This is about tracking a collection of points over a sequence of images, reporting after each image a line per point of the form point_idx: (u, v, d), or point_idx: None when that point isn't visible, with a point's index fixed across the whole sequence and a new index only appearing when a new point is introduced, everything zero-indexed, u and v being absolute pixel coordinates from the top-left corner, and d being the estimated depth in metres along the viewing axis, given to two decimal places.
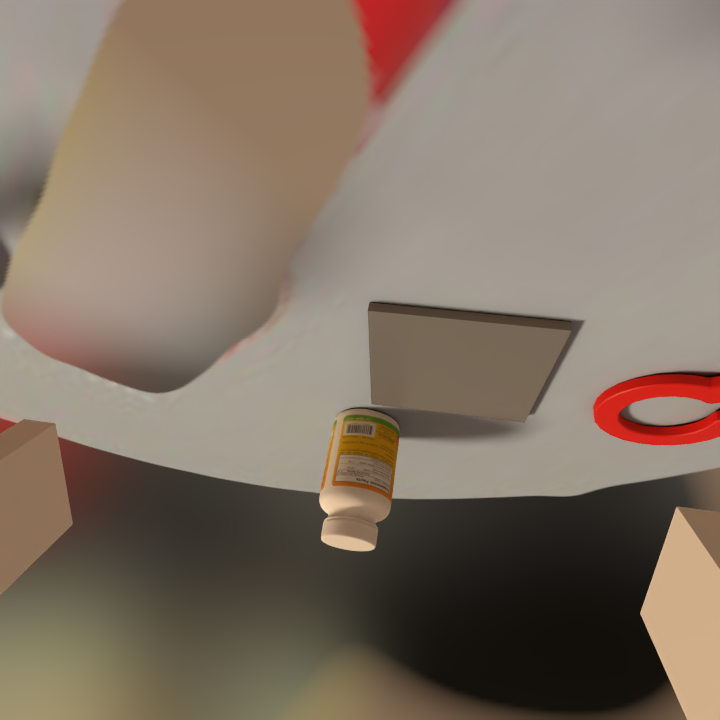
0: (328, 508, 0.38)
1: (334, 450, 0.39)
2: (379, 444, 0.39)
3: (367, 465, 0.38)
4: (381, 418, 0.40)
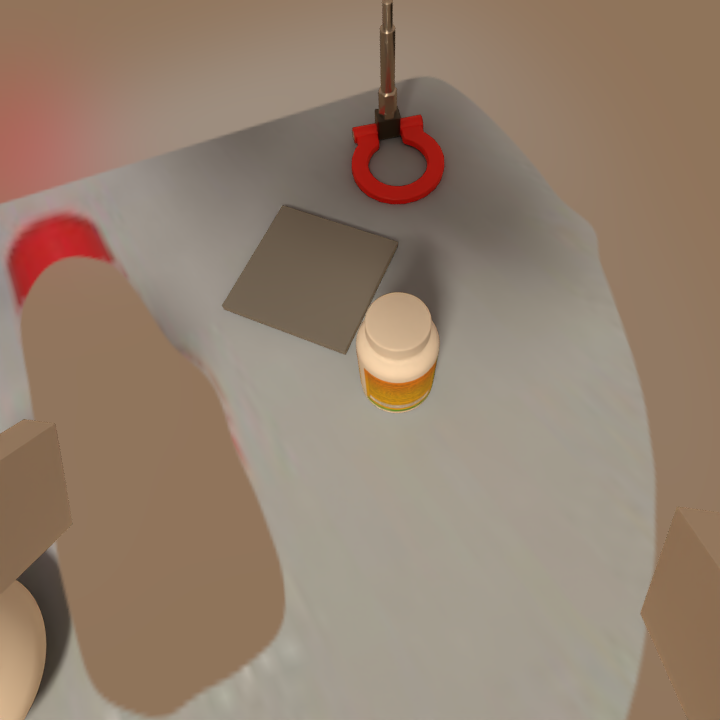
0: (376, 355, 0.32)
1: (361, 376, 0.36)
2: None
3: None
4: None
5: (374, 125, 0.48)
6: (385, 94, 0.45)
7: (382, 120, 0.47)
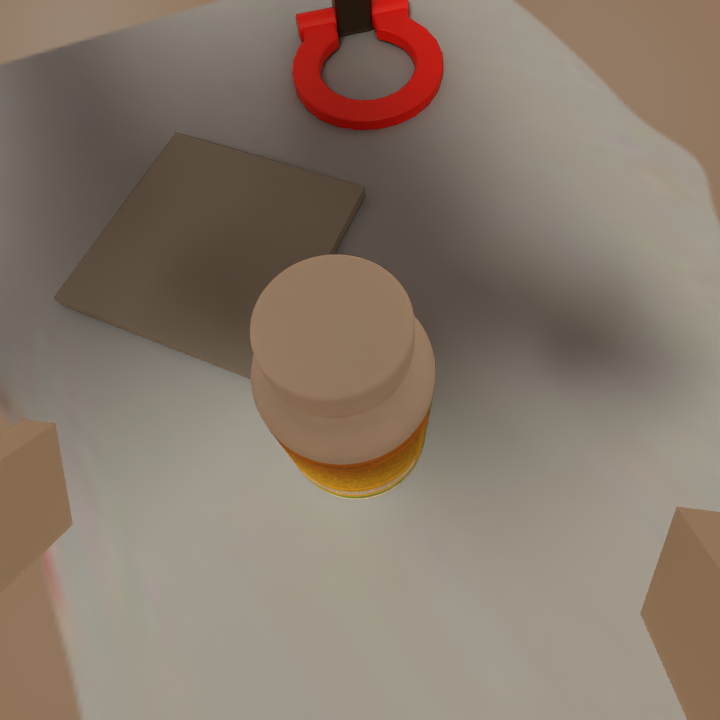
0: (287, 404, 0.14)
1: None
2: None
3: None
4: None
5: (330, 9, 0.30)
6: None
7: None
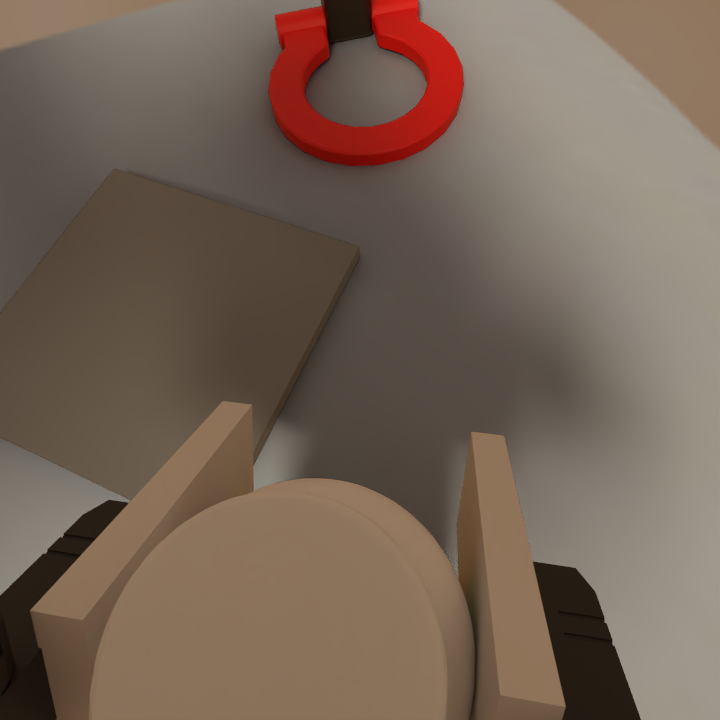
0: None
1: None
2: None
3: None
4: None
5: (318, 9, 0.24)
6: None
7: None
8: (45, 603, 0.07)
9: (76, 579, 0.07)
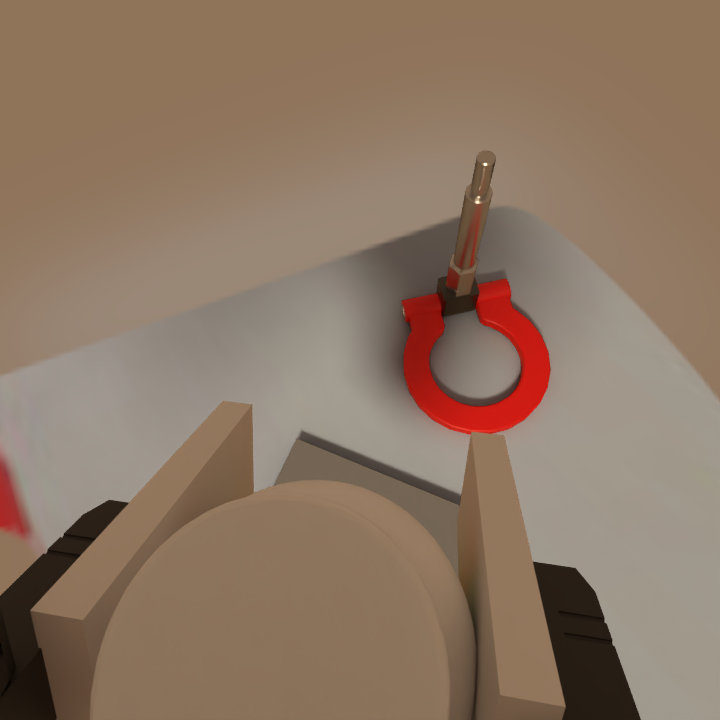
0: None
1: None
2: None
3: None
4: None
5: (436, 298, 0.31)
6: (461, 270, 0.28)
7: (451, 297, 0.30)
8: (45, 603, 0.07)
9: (76, 579, 0.07)
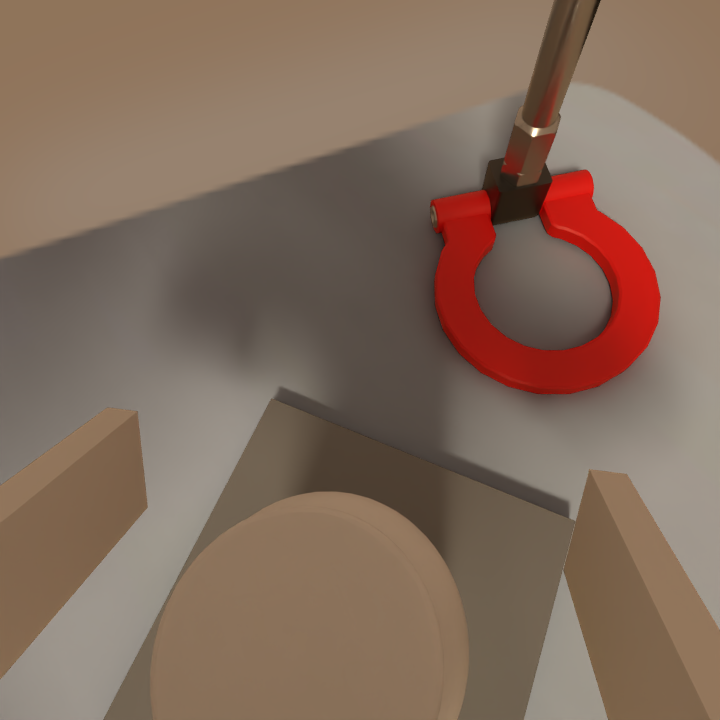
0: None
1: None
2: None
3: None
4: None
5: (483, 195, 0.21)
6: (534, 130, 0.17)
7: (509, 188, 0.20)
8: None
9: None
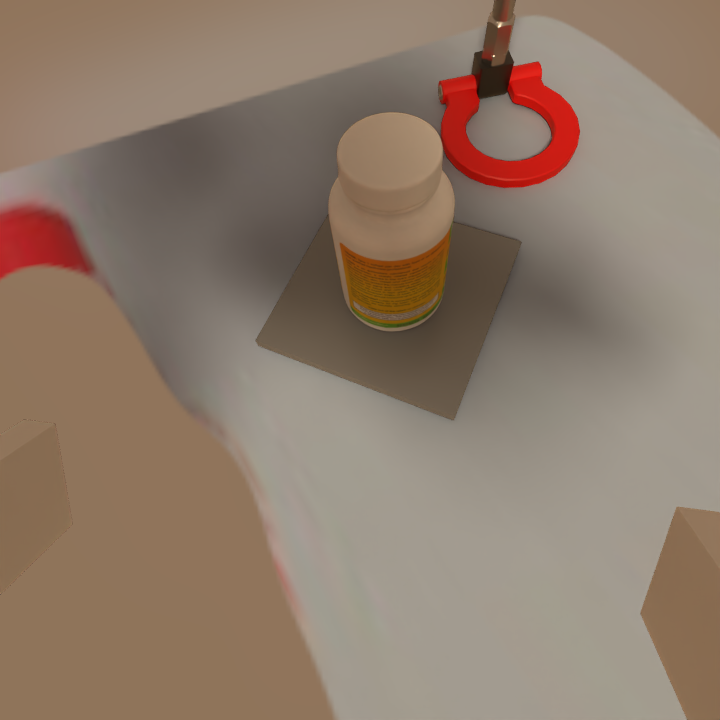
0: (356, 215, 0.21)
1: (340, 269, 0.24)
2: None
3: None
4: None
5: (472, 77, 0.34)
6: (499, 23, 0.30)
7: (487, 67, 0.32)
8: None
9: None
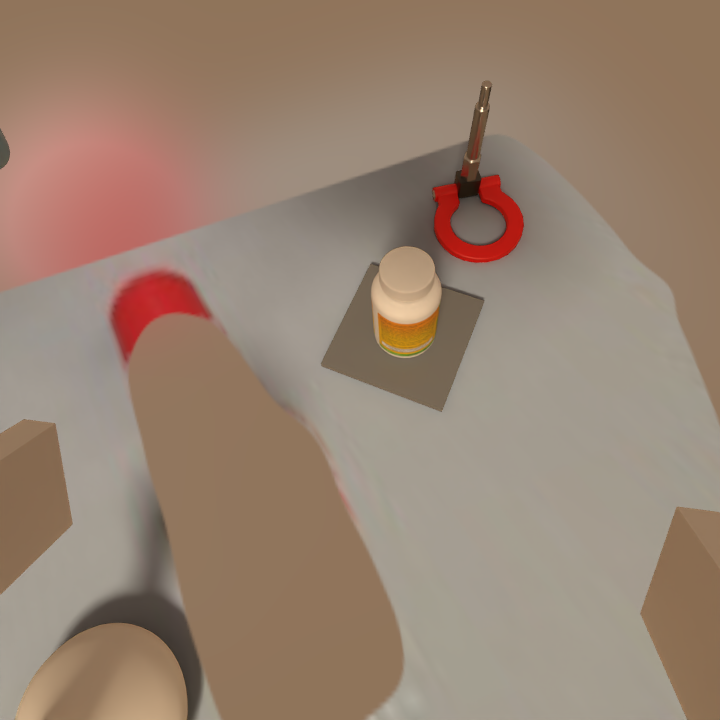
0: (388, 300, 0.38)
1: (375, 323, 0.42)
2: None
3: None
4: None
5: (454, 185, 0.51)
6: (471, 160, 0.47)
7: (464, 182, 0.49)
8: None
9: None
